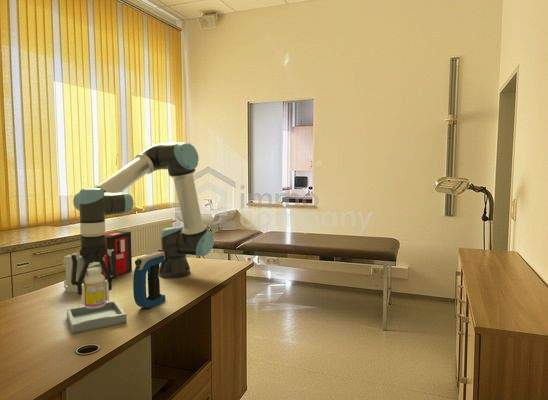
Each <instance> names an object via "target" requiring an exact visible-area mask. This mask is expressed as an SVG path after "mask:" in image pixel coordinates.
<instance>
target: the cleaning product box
mask: <svg viewBox="0 0 548 400" xmlns="http://www.w3.org/2000/svg"><path fill="white" fill-rule="evenodd" d="M104 234H105V238H106V248H107V249H108V250H112V249H113V250H115V251H116V254H115V263H116V271H117V278H118V277H120V276H122V275H125V274H127V273H130V272H132V271H133V262H132V258H133V257H132V232H131V231H126V230H125V231H123V230H121V231H120V230H119V231H118V230H115V231H110V232H105V233H104ZM103 260H104V262H105V265H106V267H107V269H108V271H109V274H110V276H111V275H112V271H111V264H110V256H109V255H108V253H106V255H105V256H104V257H103ZM102 275H104V276H105V274H104V271H103V269H102ZM105 280H107V278H106V276H105Z"/></svg>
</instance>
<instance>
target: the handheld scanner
mask: <svg viewBox="0 0 548 400" xmlns="http://www.w3.org/2000/svg"><path fill="white" fill-rule="evenodd" d="M167 261H168V256H167V250H162V249H157V252H156V251H155V252H153V253H150V254H146V255H144V256H140V257H137V258H136V260H135V261H134V264H135V268H134V271H133V278H132V286H133V287H132V290H133V300H134V302H135V304H136V305H137V306H138V307H139V308H145V309H146V308H147V309H153V308H154V307H156V306H158V305H160V304H162V303H164V302H165V301H166V294H161V284H160V281H161V280H160V276H159V267H160V263H162V262H167Z"/></svg>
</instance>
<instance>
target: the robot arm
mask: <svg viewBox="0 0 548 400" xmlns="http://www.w3.org/2000/svg"><path fill="white" fill-rule="evenodd" d="M199 160H200V159H199V154H198V151H197V149H196V148H195V146H194V145H192V144H191V143H189V142H184V141H183V142H182V141H179V142H178V141H177V142H175V141H174V142H161V143H156V144H154V145H152V146H150V147H147V148H146V149H144V150H142V151H141V152H140V153H138V154H136V156H135V158H134V160H132V161H131V162H129V163H128V164H127V165H125V166H124V167H122V168H120V169H119V170H117V171H115V173H113V174H111V175H110V176H108V177H107V178H105V179H104V180H103V181H101V182H100V183H99V184H96V185H95V186H94V187H92V188H91V187H90V188H89V187H88V188H82V189H80V190H79V192H77V193H76V194H74V196H73V200H72V203H73V206H74V208H75V209H76V210H77V211H79V222H80V223H79V227H80V235H81V236H80V250H79V251H78V252H75V253H76V254H73V253H71V254H70V255H71V259H72V271H71V284H72V285H77V292H76V293H77V295H78V296H80V298H81V299H80V301H81V305H82V306H85V286H84V284H82V283H83V280H84V277H85V274H86V271H87V268H88V266H89V263H93V262H99V263H100V265H101V267H102V269H103V271H104V274H105V276H106V278H107V280H105V285H106V302H109V301H110V292H109V291H112V289H113V286H112V285H113V283H112V282H113V281H114V280H116V279H117V278H118V277H117V271H116V263H115V254H116V251H115V250H113V249H112V250H108V249H107V248H106V238H105V233H106V216H108V215H109V216H110V215H118V214H120V215H121V214H125V213H129V212H131V211H132V210H133V208H134V199H133V196H132V195H131V194H130V193H129V192H124V191H125V190H126V189H128V188H129V187H130V186H132V185H134V184H135V183H136V182H137V181H138V180H140V179H141V178H143V177H144V176H145V175H150V174H152V173H153V172H155V171H160V170H167V172H168V176H169V177H170V178H172V179H173V182H174V187H175V192H176V196H177V201H178V205H179V210H180V215H181V219H182V224H183V225H179V226H172V227H171V226H170V227H166V228H163V229H162V230H161V233H160V234H161V236H160V239H161V240H160V242H161V243H160V245H161V250H167V256H168V261H167V262H162V263H160V265H159V277H162V278H169V279H171V278H181V277H185V276H188V275H190V274H191V267H190V264H189V260H188V258H187V255H190V256H197V257H206V256H208V254H210V253H211V251H212V249H213V247H214V243H215V237H214V236H215V235H214V233H212V231H210V230H209V231H208V229H207V228H208V227H207V225H206V224H205V223H204V222H203V218H202V215H201V209H200V205H199V199H198V193H197V190H196V184H195V179H194V174H195V173H196V168H197V167H198V166H199ZM106 253H108V255H109V256H110V264H111V271H112V275H111V276H110V274H109V271H108V269H107V267H106V265H105V262H104V260H103V257H104V256H105V255H106ZM79 256H82V258H83V259H84V262H83V266H82V269H81V272H80V275H79V278H78V281H77V280H76V274H77V260H78V259H79Z"/></svg>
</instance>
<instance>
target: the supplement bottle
mask: <svg viewBox="0 0 548 400" xmlns="http://www.w3.org/2000/svg"><path fill="white" fill-rule="evenodd" d="M86 273H87V277H85V278H84V286H85V305H84V306H85V307H86V308H88V309H96V308H100V307H103V306H104V305H105V304H106V302H107V301H106V285H105V276H104V275H101V273H102V268H100V267H93V268H89V269H87V271H86Z"/></svg>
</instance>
